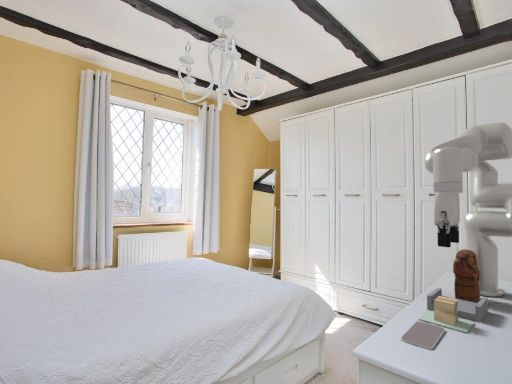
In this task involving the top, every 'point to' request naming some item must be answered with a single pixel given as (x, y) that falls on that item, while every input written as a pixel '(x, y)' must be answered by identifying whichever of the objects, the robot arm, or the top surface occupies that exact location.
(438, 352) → the top surface
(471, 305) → the gray u-shaped channel
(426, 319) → the sage mat
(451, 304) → the beech block
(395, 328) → the top surface
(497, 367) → the top surface
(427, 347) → the smartphone
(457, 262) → the wooden figurine
